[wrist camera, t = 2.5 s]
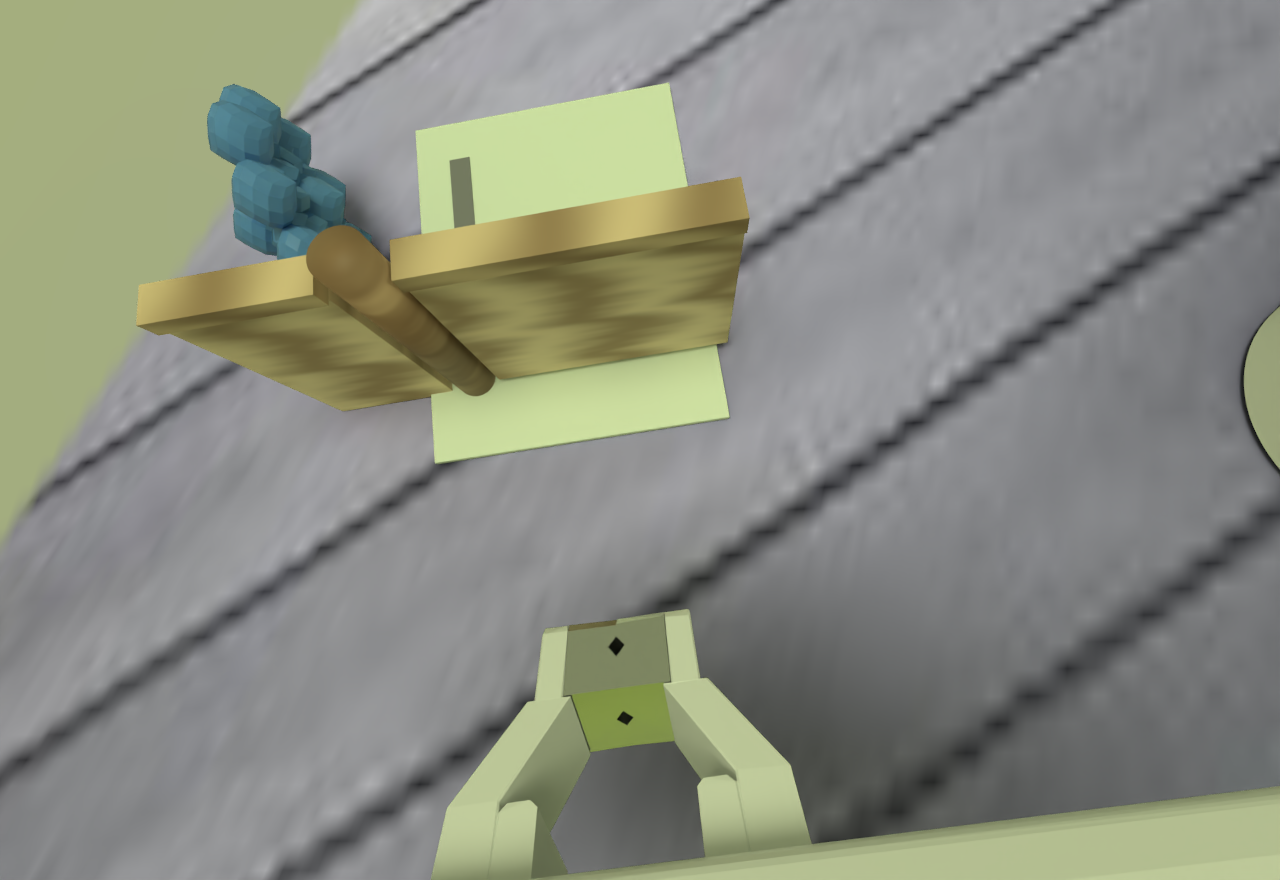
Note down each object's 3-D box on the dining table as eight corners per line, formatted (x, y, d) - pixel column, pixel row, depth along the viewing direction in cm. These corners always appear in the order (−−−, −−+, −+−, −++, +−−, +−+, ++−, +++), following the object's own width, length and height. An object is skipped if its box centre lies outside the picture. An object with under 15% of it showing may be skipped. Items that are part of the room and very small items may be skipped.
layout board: (669, 87, 40) (668, 81, 39) (728, 418, 34) (729, 416, 34) (418, 135, 41) (415, 129, 40) (437, 464, 35) (434, 462, 35)
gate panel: (722, 319, 35) (740, 176, 22) (728, 346, 34) (749, 217, 22) (497, 357, 35) (389, 239, 23) (499, 384, 35) (391, 280, 22)
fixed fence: (496, 359, 37) (365, 220, 22) (499, 394, 36) (367, 276, 21) (342, 384, 37) (115, 265, 22) (343, 420, 37) (111, 322, 22)
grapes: (284, 216, 40) (118, 72, 29) (373, 180, 40) (243, 22, 29) (322, 360, 38) (156, 267, 26) (418, 322, 38) (295, 211, 26)
